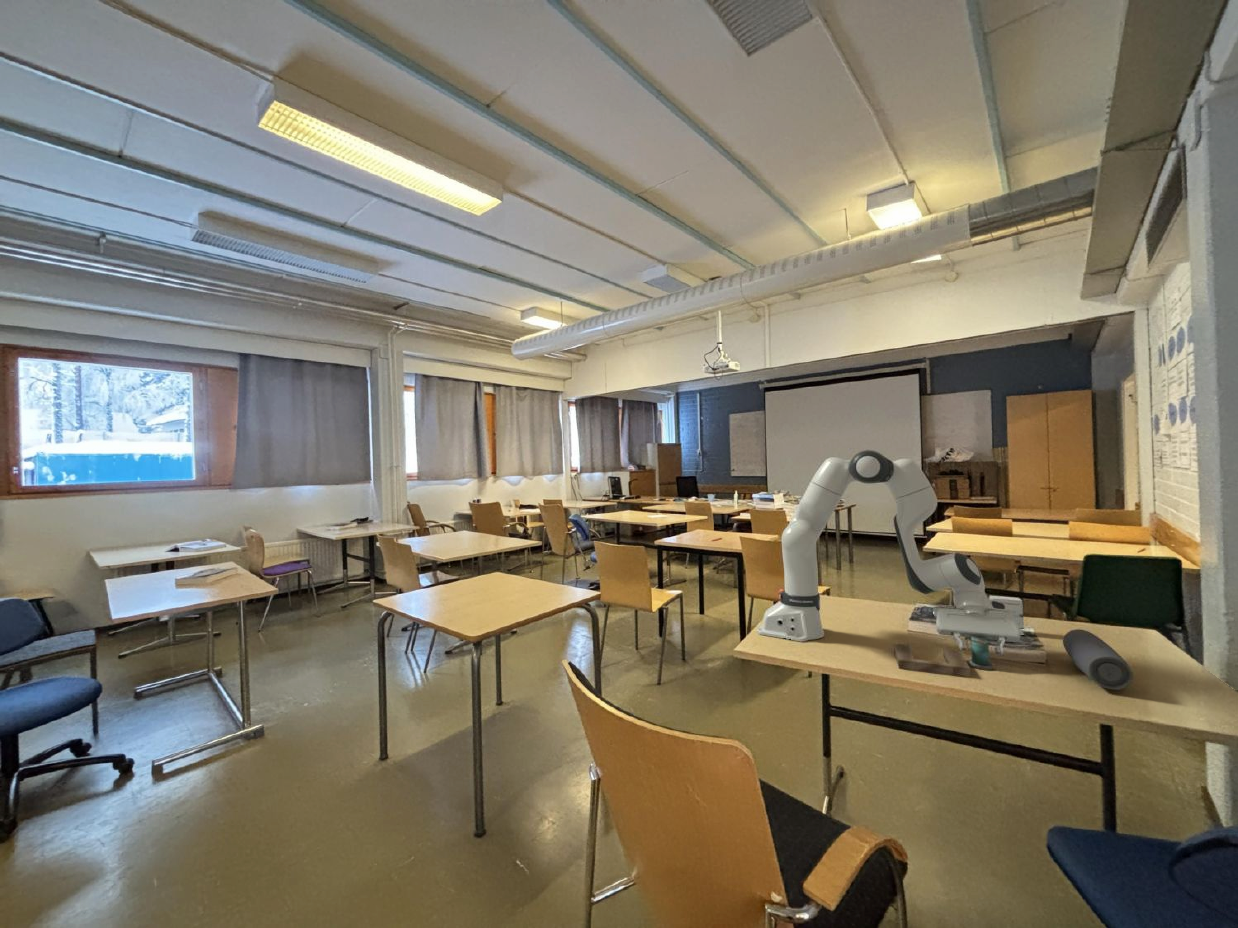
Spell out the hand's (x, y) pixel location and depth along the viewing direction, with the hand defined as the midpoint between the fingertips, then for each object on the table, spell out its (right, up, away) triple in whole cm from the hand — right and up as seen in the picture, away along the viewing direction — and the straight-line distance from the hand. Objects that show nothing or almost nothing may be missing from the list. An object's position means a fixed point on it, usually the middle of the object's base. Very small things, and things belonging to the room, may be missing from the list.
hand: (981, 651), depth 141 cm
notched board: (-12, -5, +4) cm, 14 cm away
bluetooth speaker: (+25, -4, -8) cm, 27 cm away
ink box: (+29, -4, +28) cm, 40 cm away
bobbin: (+1, -5, +1) cm, 5 cm away
